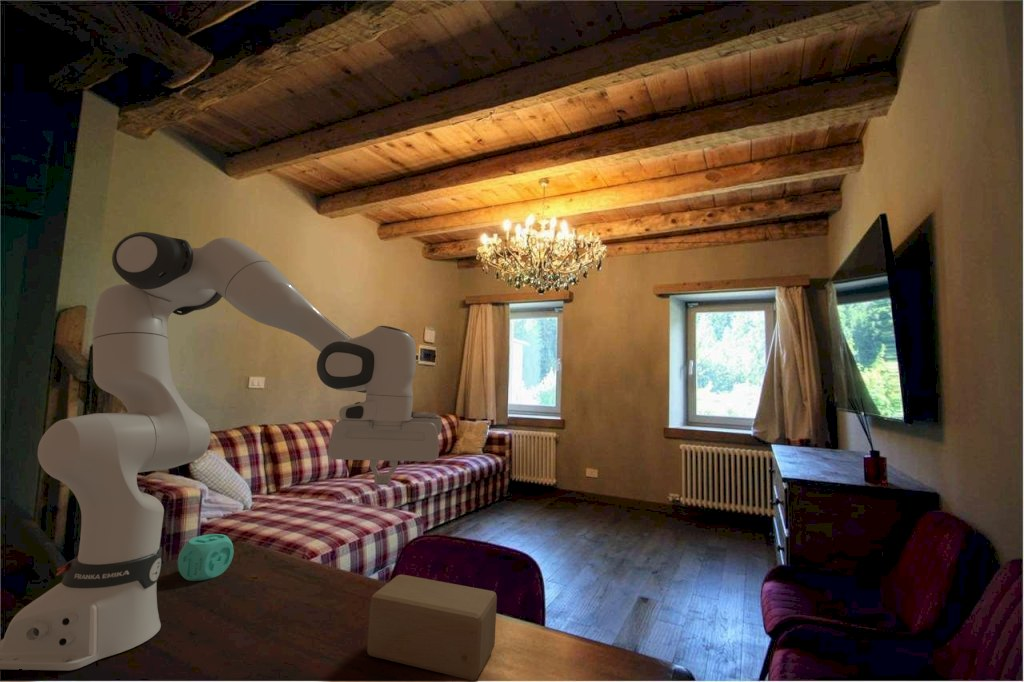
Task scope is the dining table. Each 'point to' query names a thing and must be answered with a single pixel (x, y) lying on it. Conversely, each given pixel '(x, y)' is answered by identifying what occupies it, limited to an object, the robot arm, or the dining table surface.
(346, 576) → the dining table surface
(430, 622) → the wooden block
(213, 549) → the decorative dice
